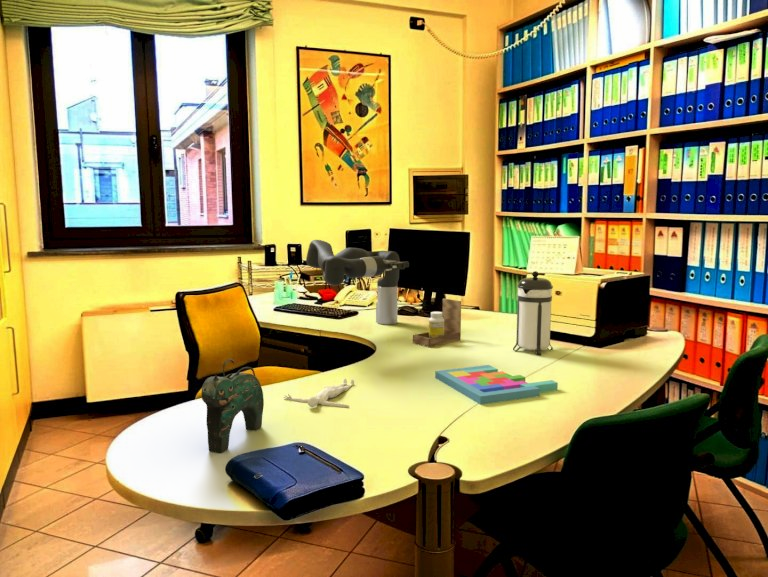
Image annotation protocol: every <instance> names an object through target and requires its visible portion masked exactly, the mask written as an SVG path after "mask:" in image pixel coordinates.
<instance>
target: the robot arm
mask: <svg viewBox="0 0 768 577" xmlns="http://www.w3.org/2000/svg"><path fill="white" fill-rule="evenodd" d="M305 263H306V265H308V266H309V267H311V268H313V269H320V270H321V271H322V277H323V280H324V282H325V283H326V284H328V285H330V286H332V287H337V286H340V285H342V284H343V282H344V281H345V276H346V277H347V278H348V279H358V278H371V277H380V276H382V275H383V274H384V276H383V277H381V278H379V279H378V280H377V282H376V283H377V284H376V285H377V286H376V287H377V290H376V291H377V292H376V293H377V296H376V297H377V300H376V302H375V322H376V323H377V324H380V325H396V324H398V282H399V281H400V280H399V279H400V270H405V268H409V267H410V262H409V261H401V260H400V255H399V254H398V253H397V252H396V251H392V250H378V251H377V250H376V251H367V250H365V249H363V248H360V247H359V248H358V247H346V248H343V249H342V250H341V251H339V252H338V253H336V254H334V251H333V247H332V245H331V243H329V242H327V241H324V240H323V239H322V240H321V239H313V240H311V241H310V243H309V245H308V250H307V253H306V259H305ZM384 272H385V273H384Z"/></svg>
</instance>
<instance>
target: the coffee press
mask: <svg viewBox="0 0 768 577" xmlns="http://www.w3.org/2000/svg"><path fill="white" fill-rule="evenodd" d="M531 276H532V277H526V278H525V277H524V278H522V279H520V280H519V282H518V284H517V285H516V288H517V304H516V305H517V306H516V308H517V311H516V338H515V339H516V340H515V341H516V342H515V345H514V346H513V347H512V348H513V349H512V350H513V351H514V352H518V351H519V350H520V349H523V350H529V351H535V353H536V356H542V351H544V350H548V351H550V350H552V351H553V349H554V347H553V346H552V345H551V321H552V320H551V318H552V301H553V295H552V290H553V288H554V285H552V282H551V281H550V280H549V279H547V278H544V277H538V276H539V272H538V271H536V270H535V271H533V272H532V274H531ZM516 347H517V349H516ZM549 347H551V348H550V349H549Z"/></svg>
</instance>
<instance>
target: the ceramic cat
mask: <svg viewBox="0 0 768 577" xmlns="http://www.w3.org/2000/svg"><path fill="white" fill-rule="evenodd" d="M228 362H231V363H232V364H235V360H234V359H231V358H230V359H229V358H228V359H226V360H225V361H224V362H223V364H222V365H223V366H222V373H223V376H218V375H214V376H210V377H207V378H206V379H205V381H204V382H203V384H202V387H201V400H202V402H203V403H204V404H205V405H206V430H207V445H208V451H209V452H212V453H217V454H223V453H224V452H225V451H227V450H229V445H230V436H231V435H230V434H231V430H232V427H233V422H234V419H235V418H236V417H237V415H238V414H239V413H240V412H241V413H242V415H243V419H244V426H245V430H248V431H253V432H255V431H258V430H260V429H261V428H262V425H263V413H264V404H265V401H264V392H263V388H262V385H261V382H260V381H259V379H258V377H257V376H256V372H255V370H254V368H253V367H250V366H245V367H241V368H240V369H238V370H237V372H235V373H229V374H227V375H226V374H225V367H226V365H227V364H228ZM243 370H250V371H251V372H252V373H247V372H246V373H245V372H242V371H243Z"/></svg>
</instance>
